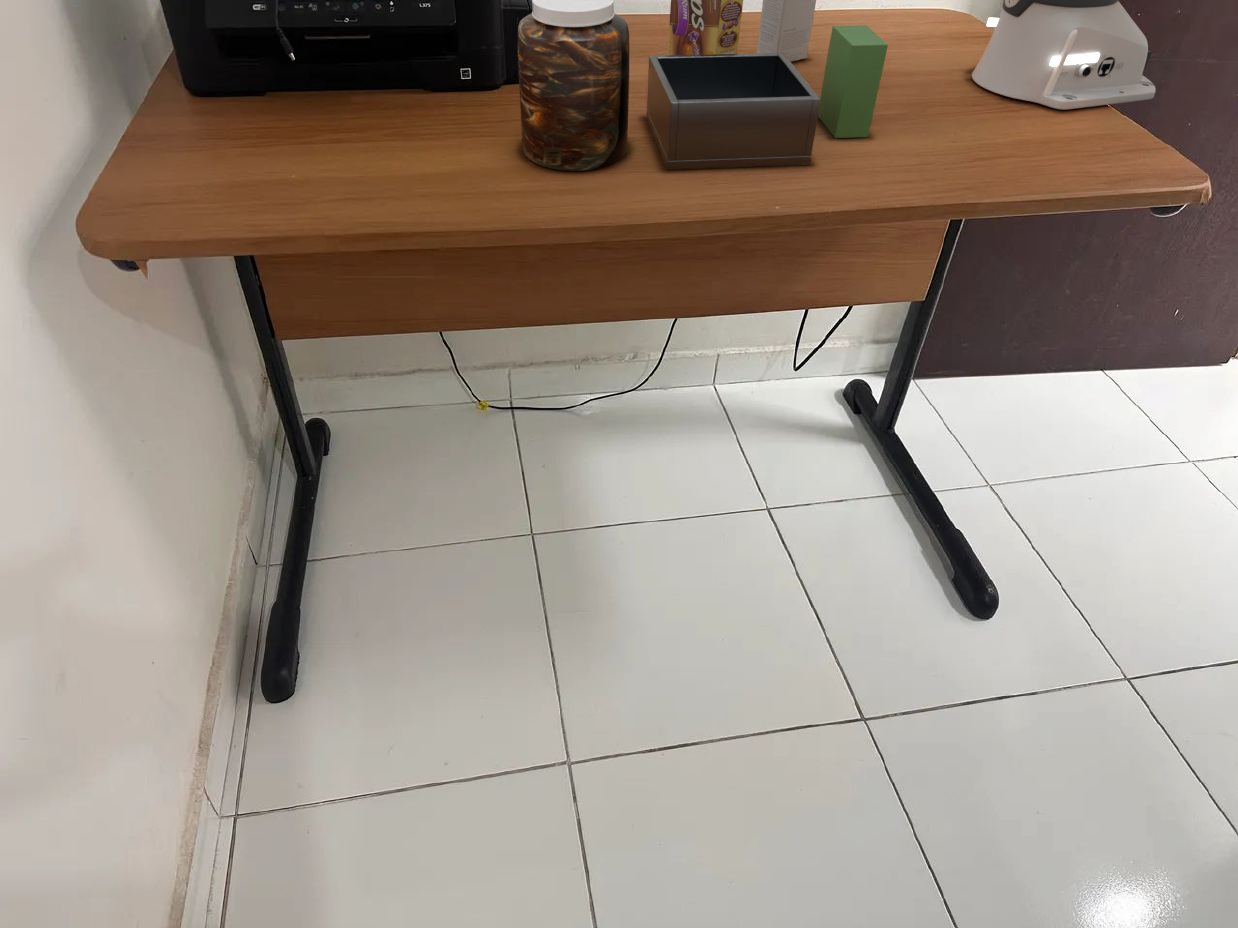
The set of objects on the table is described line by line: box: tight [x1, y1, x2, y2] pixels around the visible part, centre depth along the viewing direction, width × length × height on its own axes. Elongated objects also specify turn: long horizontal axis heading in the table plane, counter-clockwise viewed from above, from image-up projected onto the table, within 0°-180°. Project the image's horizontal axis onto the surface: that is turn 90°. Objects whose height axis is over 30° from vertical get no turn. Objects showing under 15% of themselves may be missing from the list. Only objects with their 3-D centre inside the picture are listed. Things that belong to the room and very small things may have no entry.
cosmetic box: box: [756, 0, 817, 63], centre depth 115 cm, size 6×4×12 cm
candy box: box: [667, 0, 744, 55], centre depth 107 cm, size 9×4×15 cm, turn 39°
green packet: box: [818, 24, 889, 139], centre depth 98 cm, size 4×7×10 cm, turn 7°
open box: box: [646, 52, 821, 171], centre depth 95 cm, size 16×15×7 cm
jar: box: [517, 0, 631, 172], centre depth 90 cm, size 12×12×15 cm
